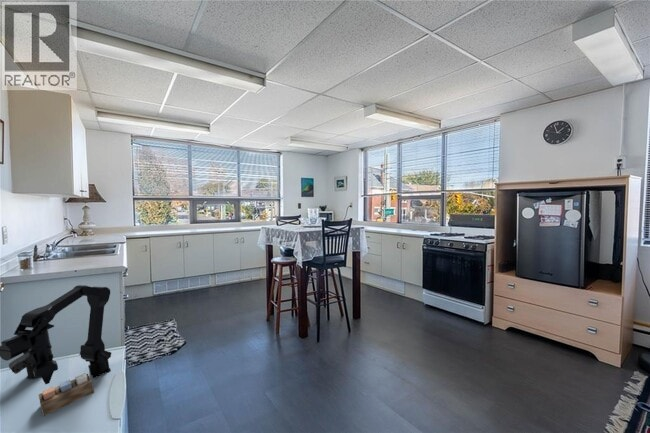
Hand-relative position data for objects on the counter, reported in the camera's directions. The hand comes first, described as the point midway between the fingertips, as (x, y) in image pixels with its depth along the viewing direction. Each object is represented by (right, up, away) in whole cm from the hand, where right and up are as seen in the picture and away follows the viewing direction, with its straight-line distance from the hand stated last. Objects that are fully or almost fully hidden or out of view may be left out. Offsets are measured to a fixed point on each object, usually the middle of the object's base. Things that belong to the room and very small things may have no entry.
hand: (46, 381), depth 113 cm
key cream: (+7, -6, +9) cm, 13 cm away
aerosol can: (-24, -9, +22) cm, 34 cm away
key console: (+4, -10, +5) cm, 12 cm away
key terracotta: (0, -8, +1) cm, 8 cm away
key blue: (+3, -7, +5) cm, 9 cm away
